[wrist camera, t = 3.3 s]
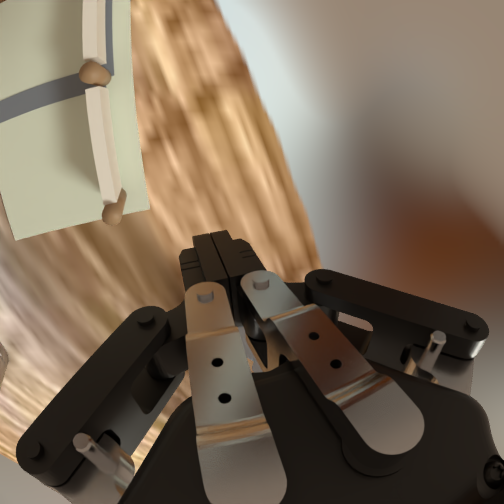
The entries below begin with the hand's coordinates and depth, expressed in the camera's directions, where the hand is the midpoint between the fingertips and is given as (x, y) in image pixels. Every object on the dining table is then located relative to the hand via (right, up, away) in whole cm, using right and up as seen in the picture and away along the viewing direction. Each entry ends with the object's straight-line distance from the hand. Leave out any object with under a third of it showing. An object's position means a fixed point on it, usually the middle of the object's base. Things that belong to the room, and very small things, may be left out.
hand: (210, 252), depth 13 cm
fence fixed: (-13, +22, +6) cm, 26 cm away
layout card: (-18, +15, +8) cm, 25 cm away
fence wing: (-12, +10, +12) cm, 20 cm away
